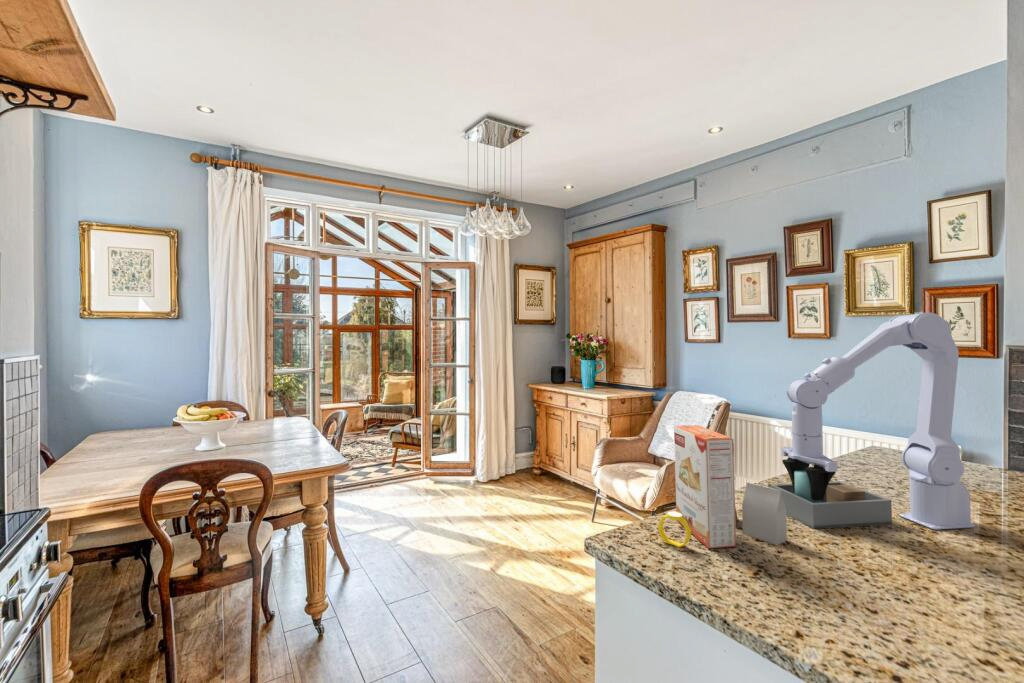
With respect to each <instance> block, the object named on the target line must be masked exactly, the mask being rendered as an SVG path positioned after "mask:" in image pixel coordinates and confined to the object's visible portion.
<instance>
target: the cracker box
mask: <svg viewBox="0 0 1024 683" xmlns="http://www.w3.org/2000/svg"><path fill="white" fill-rule="evenodd" d="M673 430H674V432H673V434H674V435H673V436H674V437H673V438H674V460H675V461H674V465H675V466H674V471H675V472H674V474H675V505H676V506H675V508H676V509H675V512H679V513H681V514H682V517H683V518H684V519H685V520H686V521H687V523H688V525H689V527H690V529H691V535H693V536H694V537H695V538H696V539H697V540H698V541H699V542H700V543H701V544H703V545H704V546H705V547H706V548H707V549H720V548H735V547H736V546H737V534H736V532H737V531H736V528H737V527H736V524H737V523H736V521H735V507H736V496H735V495H736V491H735V490H736V489H735V486H736V485H735V484H736V483H735V482H736V481H734V476H735V452H734V450H735V446H734V445H735V444H734V442H735V441H734V437H732V436H731V437H730V436H727V435H725V434H722V433H720V432H717V431H714V430H711V429H709V428H706V427H704V426H701V425H697V424H695V425H675V426H673ZM676 522H678V523H679V524H680V525H681V526H683V524H682V523H681V522H680V521H679V520H676Z"/></svg>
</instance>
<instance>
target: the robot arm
mask: <svg viewBox="0 0 1024 683" xmlns="http://www.w3.org/2000/svg"><path fill="white" fill-rule="evenodd" d="M951 327H952V324H951V323H950V322H948V321H947V320H946V319H944V318H943V317H942V316H940V315H939V314H937V313H934V312H922V313H915V314H897V315H895V316H894V317H891V318H890V319H889V320H888V321H886V322H884V323H882V324H880V325H879V327H877V328H876V329H875V330H874V331H873V332H872V333H871V334H869V335H868V336H866V337H864V338H863V340H862V341H861V342H859V343H858V344H856V346H854V347H853V348H852V349H850V350H849V351H848V352H847V353H846V354H844V355H843V356H841V357H839V356H832V357H830V358H828V357H825V358H824V359H823V360H821V363H822V364H820V365H819V366H818V367H816V368H815V369H814V370H812V371H811V372H805V374H804V375H803V377H804V379H796V380H794V381H793V382H791V384H790V385H789V388H788V390H787V391H786V397H788V400H789V401H790V402H791V435H792V436H791V437H792V438H791V439H792V440H791V442H792V447H791V446H784V447H781V456H783V457H788V458H785V459H782V464H783V465H784V467H785V469H786V470H787V473H788V476H789V477H790V478H789V479H790V482H791V484H792V485H793V489H794V492H795V475H794V471H796V470H805V471H806V473H807V475H808V478H809V482H810V489H811V497H812V500H814V501H821V500H823V499H824V496H825V492H826V489H827V486H828V484H829V482H831V481H832V479H833V477H834V476H835V474H836V473H837V472H838V467H839V466H838V462H837V461H834V460H832V459H831V458H829V457H827V456H826V455H824V439H823V438H824V437H823V436H824V435H823V432H824V431H823V405H825V403H827V401H828V396H829V395H831V393H833V392H835V391H836V390H838V389H839V388H841V386H844V385H845V384H846V383H848V382H849V381H850V380H852V379H853V378H854V377H855V374H856V373H855V371H856V368H859V367H860V366H861V365H863V364H865V363H866V362H867V361H869V360H870V359H872V358H874V357H875V356H877V355H878V354H880V353H881V352H883V351H885V350H886V349H887V348H889V347H895V346H904V347H907V348H909V349H911V351H913V352H914V353H915V354H916V355H918V356H919V357H920V358H921V359H922V369H921V378H920V389H919V390H920V391H919V399H918V411H917V421H916V429H915V432H914V433H912V434H911V435H910V436H909V437H908V440H907V444H906V446H905V448H904V450H903V451H902V453H901V460H902V464H903V465H904V466H905V468H907V469H908V475H909V476H908V477H909V512H905V513H904V512H903V513H902V512H901V513H898V515H899V517H901V518H904V519H907V520H908V521H912V522H914V523H916V524H919V525H921V526H924V527H927V528H929V529H932V530H935V531H937V530H952V529H967V528H968V529H969V528H976V524H974V523H972V522H971V521H972V517H971V515H972V514H971V494H970V491H969V489H968V488H967V486H966V485H965V484H964V483H963V482H961V481H960V479H962V477H963V475H964V472H965V466H964V463H963V462H962V461H963V460H962V459H961V448H960V447H959V445H958V444H957V443H956V441H955V440H954V439H953V438H952V429H953V418H954V417H953V416H954V405H955V395H956V386H957V376H958V366H959V352H960V351H959V349H958V346H957V344H956V342H955V340H954V339H953V335H952V334H951V329H952V328H951ZM810 465H811V466H810Z"/></svg>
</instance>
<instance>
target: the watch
mask: <svg viewBox="0 0 1024 683" xmlns="http://www.w3.org/2000/svg"><path fill="white" fill-rule="evenodd" d="M667 518H668V519H670V520H673V521H677V520H679V521H680V522H681V523H682V524H683V525H682V527H683V528H684V529H685V531H686V532H685V533H686V538H685V540H684V542H682V543H680V542H677V541H675V540H673V539H669V537H668V536H667V535H666V533H665V531H664V521H665V520H666V519H667ZM657 531H658V533H659V537H660V538H661V539H662V541H664V543H666V544H669V545H672V546H675V547H677V548H682V547H685V546H686V545H687V544H688V543H689V542H690V540H691V538H692V533H691V529H690V527H689V525H688V523H687V521H686V520H685V519H684V518H683V517H682V514H681V513H679V512H676V511H668V512H666V514H665V515H663V516H662V517H661V518H660V520H659V522H658V527H657Z"/></svg>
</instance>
